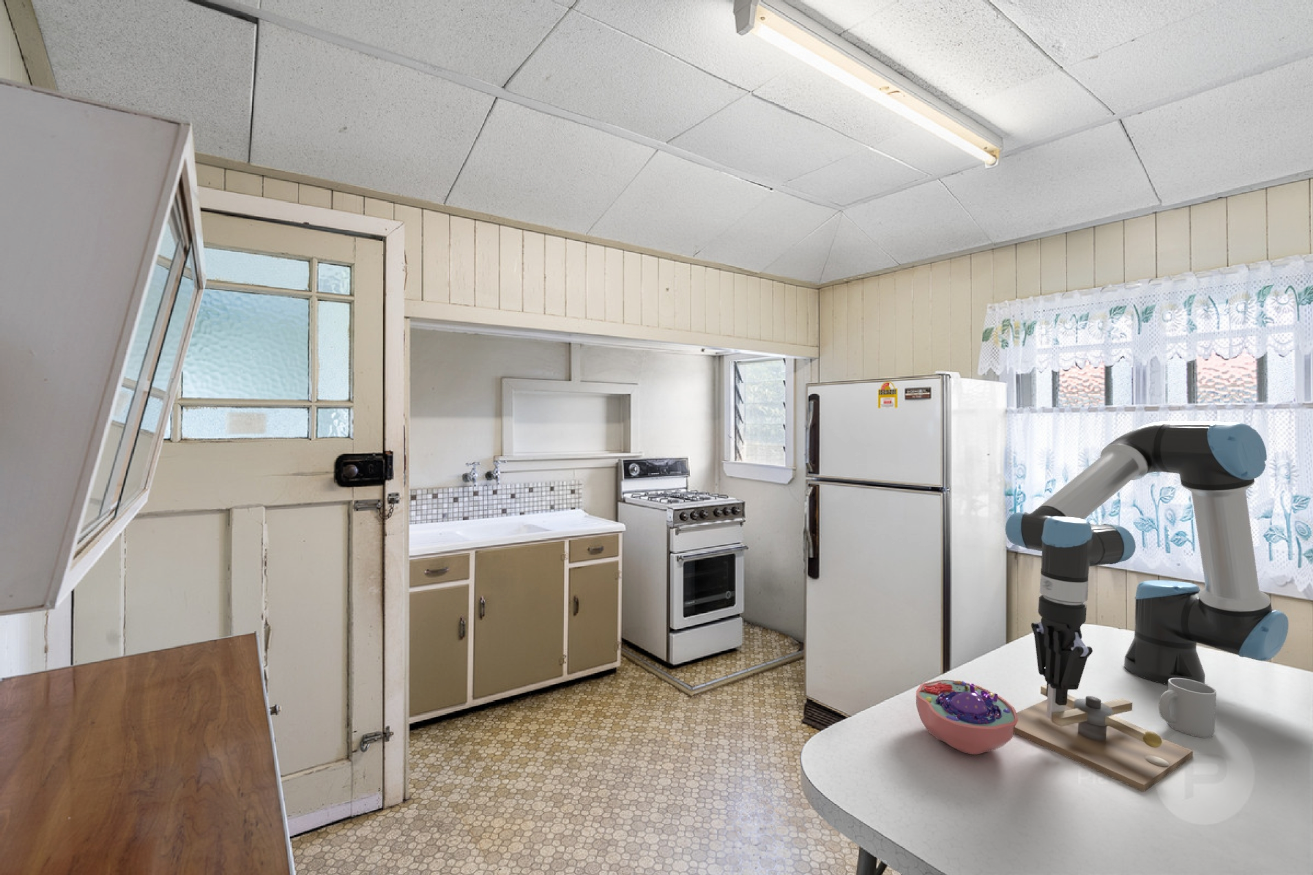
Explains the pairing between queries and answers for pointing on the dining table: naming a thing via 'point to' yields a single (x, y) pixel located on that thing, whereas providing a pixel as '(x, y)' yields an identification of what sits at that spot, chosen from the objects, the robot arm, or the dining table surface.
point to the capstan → (1102, 716)
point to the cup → (1189, 707)
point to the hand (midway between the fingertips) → (1055, 717)
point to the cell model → (965, 715)
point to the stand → (1103, 748)
